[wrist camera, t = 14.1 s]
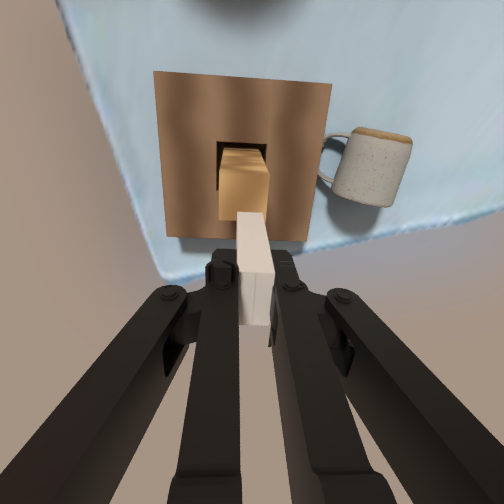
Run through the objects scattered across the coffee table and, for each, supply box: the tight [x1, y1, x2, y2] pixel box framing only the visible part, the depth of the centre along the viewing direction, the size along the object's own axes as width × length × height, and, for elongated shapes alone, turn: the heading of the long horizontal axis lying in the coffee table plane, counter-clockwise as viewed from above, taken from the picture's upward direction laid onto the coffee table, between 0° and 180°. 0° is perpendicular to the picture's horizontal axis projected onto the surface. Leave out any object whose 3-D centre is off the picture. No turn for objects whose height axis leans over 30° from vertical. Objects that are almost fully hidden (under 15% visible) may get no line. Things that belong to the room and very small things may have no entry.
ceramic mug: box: [317, 127, 413, 208], centre depth 36 cm, size 11×8×8 cm
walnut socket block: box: [153, 71, 332, 241], centre depth 36 cm, size 18×18×5 cm
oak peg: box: [219, 144, 270, 222], centre depth 31 cm, size 4×4×15 cm
